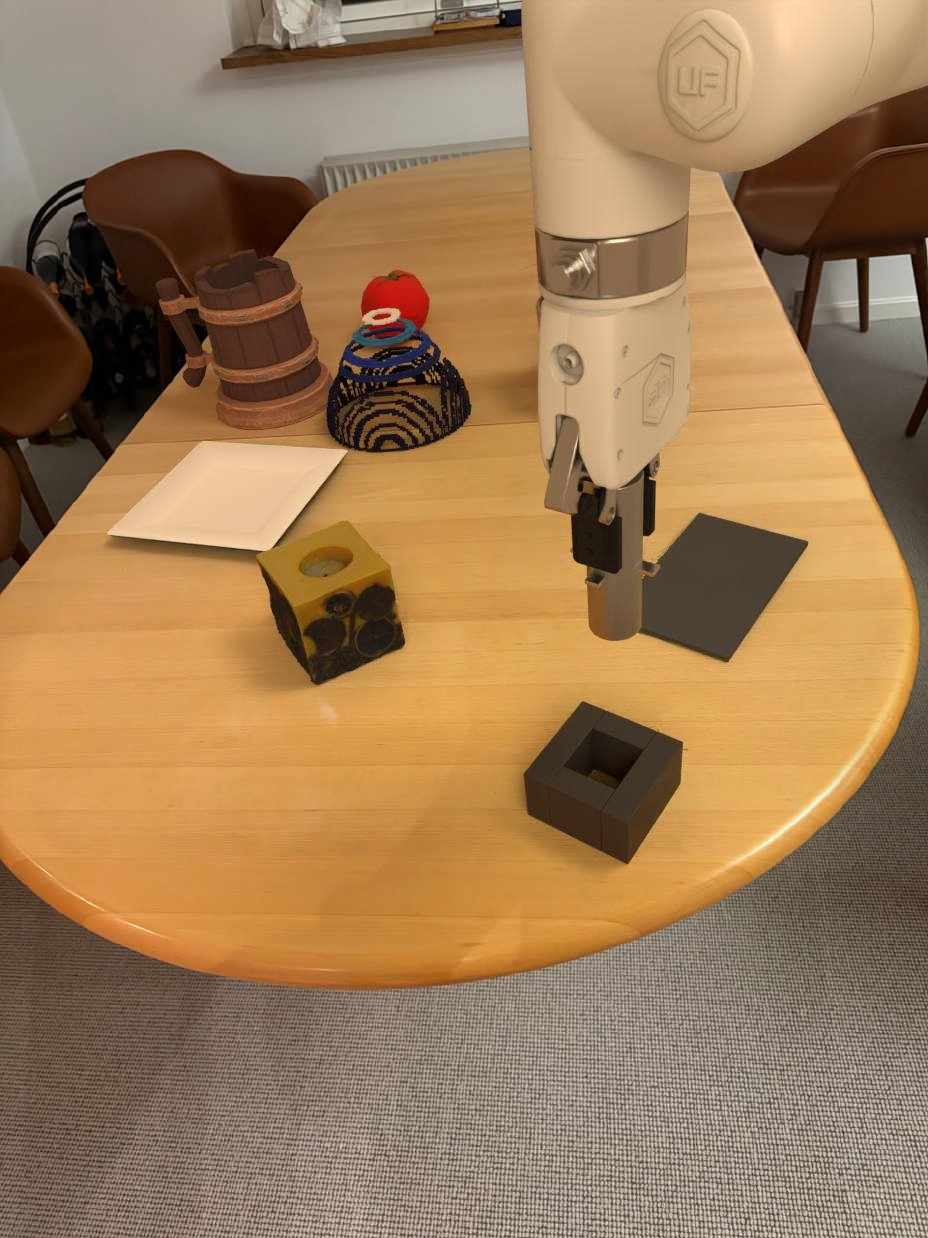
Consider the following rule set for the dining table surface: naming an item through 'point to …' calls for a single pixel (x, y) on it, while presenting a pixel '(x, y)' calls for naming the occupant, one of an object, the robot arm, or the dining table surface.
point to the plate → (230, 495)
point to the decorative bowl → (394, 385)
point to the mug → (251, 341)
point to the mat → (716, 584)
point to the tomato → (396, 300)
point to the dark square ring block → (594, 807)
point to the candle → (332, 600)
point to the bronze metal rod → (620, 593)
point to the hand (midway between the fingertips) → (614, 544)
